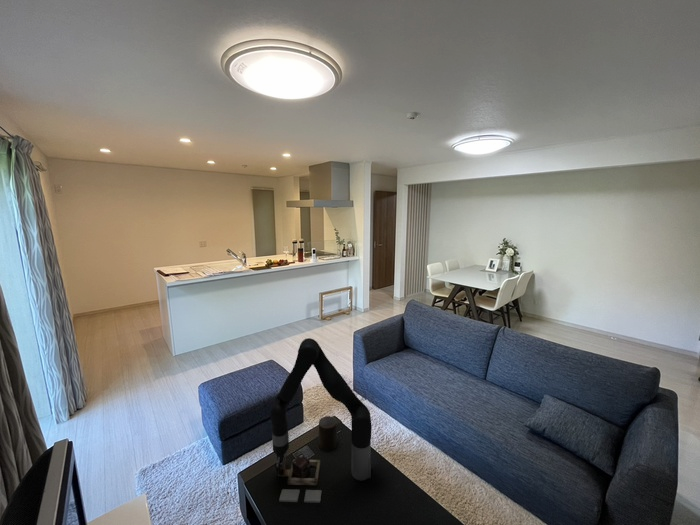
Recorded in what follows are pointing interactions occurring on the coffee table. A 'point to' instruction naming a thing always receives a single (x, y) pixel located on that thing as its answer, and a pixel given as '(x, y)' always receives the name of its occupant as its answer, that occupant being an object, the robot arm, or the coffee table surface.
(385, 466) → the coffee table surface
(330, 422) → the pillar candle
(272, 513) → the coffee table surface
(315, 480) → the wooden open tray
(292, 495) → the pair of grey tiles
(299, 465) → the box
